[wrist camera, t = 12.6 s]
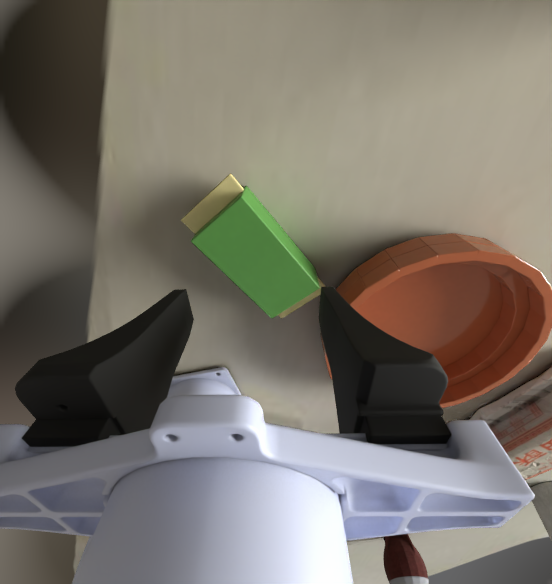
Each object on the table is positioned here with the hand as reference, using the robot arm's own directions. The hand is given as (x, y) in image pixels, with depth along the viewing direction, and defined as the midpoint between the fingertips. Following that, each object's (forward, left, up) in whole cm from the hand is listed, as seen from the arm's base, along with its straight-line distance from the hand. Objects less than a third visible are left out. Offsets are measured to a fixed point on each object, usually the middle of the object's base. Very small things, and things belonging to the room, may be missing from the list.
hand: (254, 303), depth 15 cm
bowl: (+11, -10, -7) cm, 16 cm away
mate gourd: (+8, -64, -7) cm, 65 cm away
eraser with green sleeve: (0, 0, -7) cm, 7 cm away
